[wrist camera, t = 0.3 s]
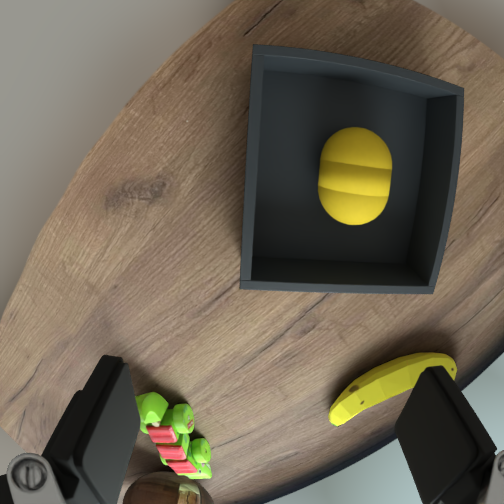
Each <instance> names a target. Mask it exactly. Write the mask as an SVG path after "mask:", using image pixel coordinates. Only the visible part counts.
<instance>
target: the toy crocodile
mask: <svg viewBox="0 0 504 504" xmlns="http://www.w3.org/2000/svg"><path fill="white" fill-rule="evenodd" d="M135 398H136V403H137V407H138V411H139V415H140V419H141V424H140V429H141V431H142V432H143V433H145V434H149V436H150V438H151V440H152V442H156V447H157V449H158V451H159V455H160V459H161V461H162V462H163V464H165V465H169V466H170V467H171V468H172V469H173V470H174V471H175V472H176V473H177V474H178V475H186V476H187V477H188V478H189V479H201V478H211V477H212V473H211V468H210V465H209V464H208V463H207V462H209V461H210V458H211V451H210V447H209V444H208V442H207V440H206V439H204V438H199V439H194V440H193V441H192V442H191V441H189V440H190V438H189V435H188V433H191V432H192V431H193V429H194V416H193V412H192V409H191V407H190V406H189V405H188V404H177V405H175V406H174V409H167V407H168V403H167V401H166V400H165V399H164V398H163V397H162V396H160V395H159V394H157V393H155V392H151V393H147V394H143V395H139V396H135Z"/></svg>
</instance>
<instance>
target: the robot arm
mask: <svg viewBox="0 0 504 504" xmlns="http://www.w3.org/2000/svg"><path fill="white" fill-rule="evenodd" d="M140 424H141V419H140V415H139V411H138V407H137V403H136V398H135V394H134V390H133V385H132V380H131V376H130V371H129V366H128V364H127V363H124V362H123V359H122V358H121V357H115V356H109V355H103V356H102V357H101V359H100V361H99V362H98V364H97V366H96V367H95V369H94V371H93V373H92V374H91V376H90V378H89V379H88V381H87V383H86V385H85V387H84V388H83V390H79V391H77V392H76V393H75V394H74V396H73V398H72V399H71V401H70V403H69V405H68V406H67V408H66V410H65V412H64V414H63V415H62V417H61V419H60V421H59V423H58V425H57V426H56V428H55V430H54V432H53V434H52V436H51V438H50V440H49V441H48V443H47V445H46V447H45V449H44V451H43V453H42V455H41V456H40V455H38V454H34V453H23V454H20V455H18V456H16V457H15V458H14V459H12V461H11V462H10V463H9V465H8V468H7V474H5V475H1V476H0V504H117V501H118V498H119V494H120V491H121V487H122V484H123V481H124V477H125V474H126V471H127V467H128V464H129V461H130V458H131V454H132V451H133V448H134V445H135V442H136V439H137V435H138V432H139V429H140ZM395 433H396V435H397V438H398V440H399V443H400V445H401V448H402V450H403V453H404V455H405V458H406V460H407V463H408V466H409V468H410V471H411V473H412V476H413V479H414V481H415V484H416V487H417V490H418V492H419V495H420V498H421V500H422V503H423V504H504V450H503V451H501V452H499V453H498V454H497V455H495V453H494V452H495V451H496V450H497V447H496V446H495V444H494V443H493V441H492V439H491V437H490V436H489V434H488V432H487V431H486V429H485V428H484V426H483V424H482V423H481V421H480V420H479V418H478V417H477V415H476V413H475V412H474V410H473V409H472V407H471V406H470V404H469V403H468V401H467V399H466V398H465V397H464V395H463V393H462V392H461V390H460V389H459V387H458V386H457V385H456V383H455V382H454V380H453V379H452V377H451V376H450V374H449V373H448V372H447V370H446V369H445V367H444V366H442V365H439V366H430V367H427V368H425V370H424V371H423V372H421V374H420V376H419V378H418V380H417V382H416V384H415V386H414V388H413V390H412V392H411V395H410V397H409V399H408V401H407V403H406V404H405V406H404V408H403V410H402V412H401V414H400V416H399V418H398V420H397V421H396V424H395Z"/></svg>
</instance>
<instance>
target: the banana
mask: <svg viewBox="0 0 504 504" xmlns="http://www.w3.org/2000/svg"><path fill="white" fill-rule="evenodd" d="M439 365H442V366H444V367H445V369H446V370H447V372H448V373H449V374H450V376H451V377H452V379H453V380H454V378H455V375H456V371H457V368H456V364H455V362H454V360H453V359H452V358H451V357H449V356H448V355H446V354H442V353H434V352H425V353H415V354H411V355H407V356H403V357H399V358H396V359H394V360H392V361H389V362H387V363H384V364H382V365H380V366H377V367H375V368H373V369H371V370H370V371H368V372H367V373H365V374H363V375H362V376H360V377H358V378H357V379H355V380H354V381H353V382H352V383H351V384H350V385H349V386H348V387H347V388H346V389H345V390H344V391H343V392H342V393H341V395H340V396H339V397H338V399H337V400H336V401H335V402H334V404H333V405H332V406H331V408H330V411H329V416H328V418H329V420H330V422H331V423H332V424H333V425H335V426H337V427H339V426H341V424H343V423H345V422H346V421H348V420H349V419H351V418H352V417H353V416H355V415H356V414H358V413H359V412H361V411H363V410H364V409H366V408H368V407H371V406H373V405H375V404H377V403H380V402H382V401H384V400H386V399H388V398H391V397H393V396H395V395H397V394H399V393H402V392H404V391H406V390H408V389H410V388H413V387H414V386H415V384H416V382H417V380H418V378H419V376H420V374H421V372H423V371H424V370H425V368H427V367H430V366H439Z"/></svg>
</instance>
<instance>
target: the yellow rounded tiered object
mask: <svg viewBox="0 0 504 504" xmlns="http://www.w3.org/2000/svg"><path fill="white" fill-rule="evenodd" d="M391 174H392V158H391V154H390V151H389V149H388V147H387V145H386V144H385V142H384V141H383V140H382V139H381V138H380V137H379V136H378V135H377V134H375V133H374V132H372V131H370V130H368V129H365V128H360V127H350V128H345V129H342V130H339V131H338V132H336V133H335V134H333V135H332V136H331V137H330V138H329V139H328V140H327V142H326V143H325V145H324V147H323V149H322V152H321V157H320V168H319V179H318V194H319V199H320V201H321V203H322V206H323V207H324V209H325V210H326V212H327V213H328V214H329V215H330V216H331V217H333V218H334V219H336V220H337V221H339V222H342V223H344V224H348V225H361V224H364V223H368V222H370V221H371V220H373V219H375V218H376V217H377V216H378V215H379V214H380V213H381V212H382V211H383V209H384V207H385V205H386V203H387V200H388V196H389V190H390V182H391Z"/></svg>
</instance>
